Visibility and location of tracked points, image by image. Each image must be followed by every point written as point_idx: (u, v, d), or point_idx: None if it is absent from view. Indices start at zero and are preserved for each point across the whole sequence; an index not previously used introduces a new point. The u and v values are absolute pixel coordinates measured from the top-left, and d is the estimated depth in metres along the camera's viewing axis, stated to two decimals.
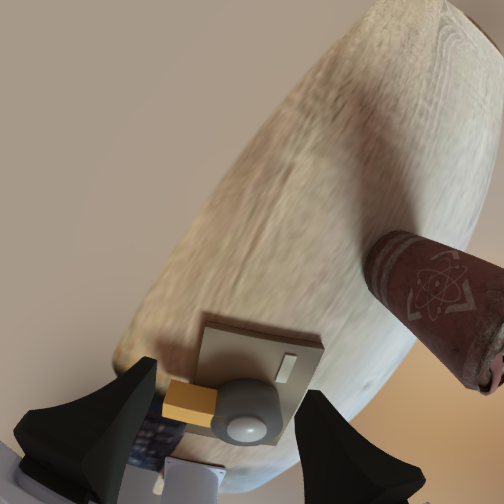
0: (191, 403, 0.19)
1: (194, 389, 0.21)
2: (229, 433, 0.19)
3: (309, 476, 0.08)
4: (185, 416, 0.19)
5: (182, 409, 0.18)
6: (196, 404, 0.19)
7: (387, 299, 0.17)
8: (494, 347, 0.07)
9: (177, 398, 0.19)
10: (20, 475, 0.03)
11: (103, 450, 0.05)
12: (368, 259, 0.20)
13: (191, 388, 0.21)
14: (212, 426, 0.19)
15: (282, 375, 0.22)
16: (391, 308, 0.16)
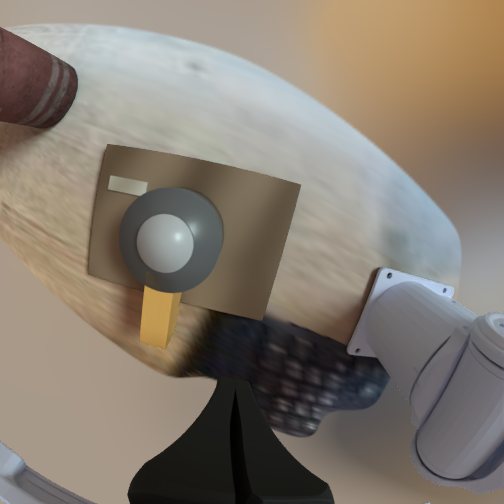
0: None
1: None
2: (170, 270, 0.14)
3: None
4: (155, 321, 0.16)
5: (143, 322, 0.16)
6: None
7: (27, 115, 0.12)
8: None
9: None
10: (20, 475, 0.03)
11: None
12: (39, 127, 0.16)
13: None
14: (169, 289, 0.15)
15: (134, 188, 0.17)
16: (28, 109, 0.12)
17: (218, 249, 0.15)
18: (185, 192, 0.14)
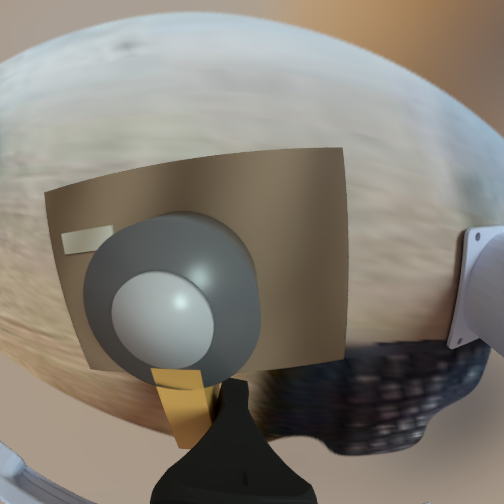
0: None
1: None
2: (185, 362, 0.08)
3: None
4: (191, 425, 0.09)
5: (174, 428, 0.09)
6: None
7: None
8: None
9: None
10: (20, 475, 0.03)
11: None
12: None
13: None
14: (196, 385, 0.09)
15: (97, 240, 0.11)
16: None
17: (258, 306, 0.08)
18: (166, 223, 0.07)
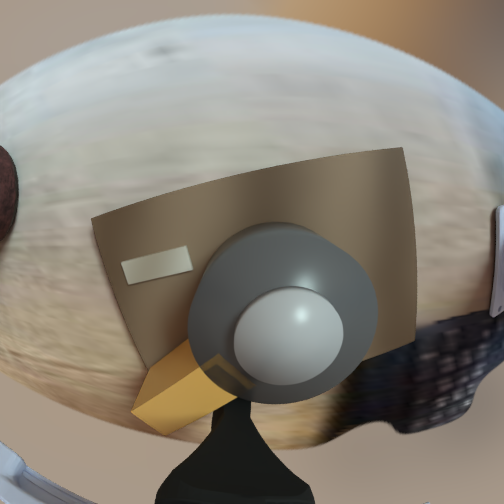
0: (167, 378, 0.09)
1: (176, 352, 0.11)
2: (268, 379, 0.08)
3: None
4: (177, 409, 0.09)
5: (156, 400, 0.08)
6: (174, 373, 0.09)
7: None
8: None
9: (150, 388, 0.09)
10: (20, 475, 0.03)
11: None
12: None
13: (172, 355, 0.11)
14: (235, 391, 0.08)
15: (170, 264, 0.11)
16: None
17: (343, 378, 0.09)
18: (371, 285, 0.08)
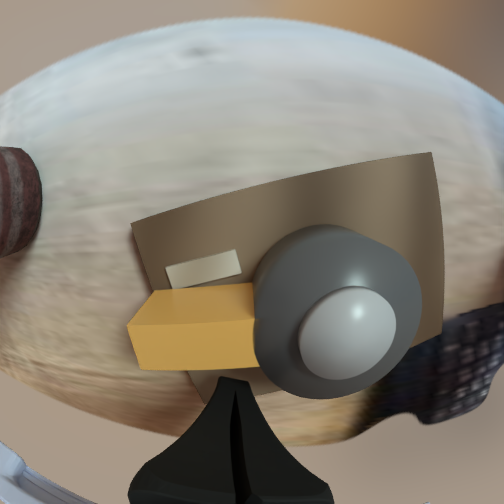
0: (194, 312, 0.09)
1: (203, 291, 0.10)
2: (309, 362, 0.08)
3: None
4: (187, 349, 0.08)
5: (172, 329, 0.08)
6: (206, 311, 0.09)
7: None
8: None
9: (161, 311, 0.09)
10: (20, 475, 0.03)
11: None
12: None
13: (195, 292, 0.10)
14: (263, 360, 0.08)
15: (218, 268, 0.11)
16: None
17: (347, 393, 0.09)
18: (416, 328, 0.08)
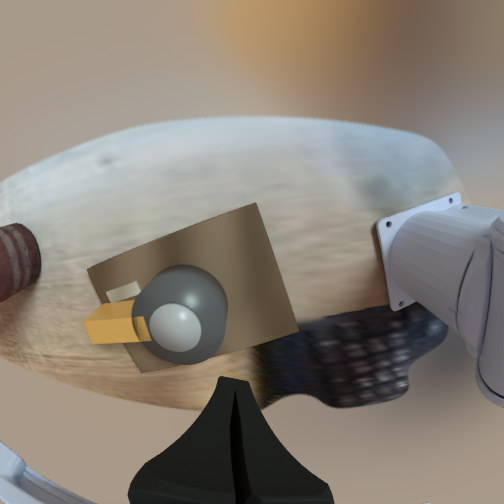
0: (111, 314, 0.16)
1: (122, 303, 0.18)
2: (157, 340, 0.16)
3: None
4: (108, 332, 0.16)
5: (101, 322, 0.16)
6: (116, 314, 0.16)
7: (12, 287, 0.15)
8: None
9: (99, 314, 0.17)
10: (20, 475, 0.03)
11: None
12: (29, 285, 0.19)
13: (119, 304, 0.18)
14: (140, 338, 0.16)
15: (130, 291, 0.19)
16: (9, 284, 0.15)
17: (193, 363, 0.17)
18: (224, 327, 0.16)
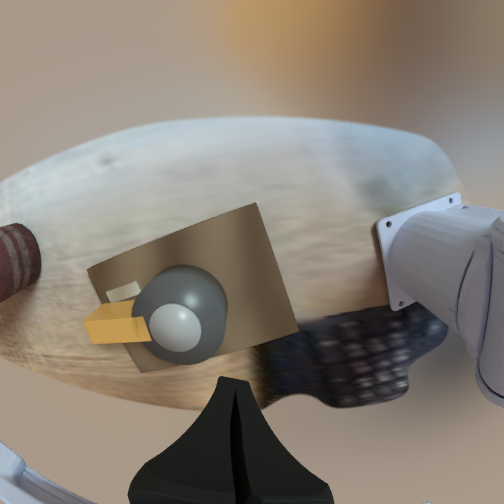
0: (111, 314, 0.16)
1: (122, 303, 0.18)
2: (157, 340, 0.16)
3: None
4: (108, 332, 0.16)
5: (101, 322, 0.16)
6: (116, 314, 0.16)
7: (12, 287, 0.15)
8: None
9: (99, 314, 0.17)
10: (20, 475, 0.03)
11: None
12: (29, 285, 0.19)
13: (119, 304, 0.18)
14: (140, 338, 0.16)
15: (130, 291, 0.19)
16: (9, 284, 0.15)
17: (193, 363, 0.17)
18: (224, 327, 0.16)
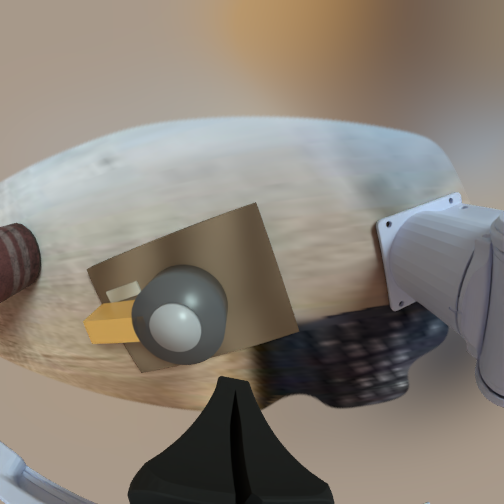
0: (111, 314, 0.16)
1: (122, 303, 0.18)
2: (157, 340, 0.16)
3: None
4: (108, 332, 0.16)
5: (101, 322, 0.16)
6: (116, 314, 0.16)
7: (12, 287, 0.15)
8: None
9: (99, 314, 0.17)
10: (20, 475, 0.03)
11: None
12: (29, 285, 0.19)
13: (119, 304, 0.18)
14: (140, 338, 0.16)
15: (130, 291, 0.19)
16: (9, 284, 0.15)
17: (193, 363, 0.17)
18: (224, 327, 0.16)
